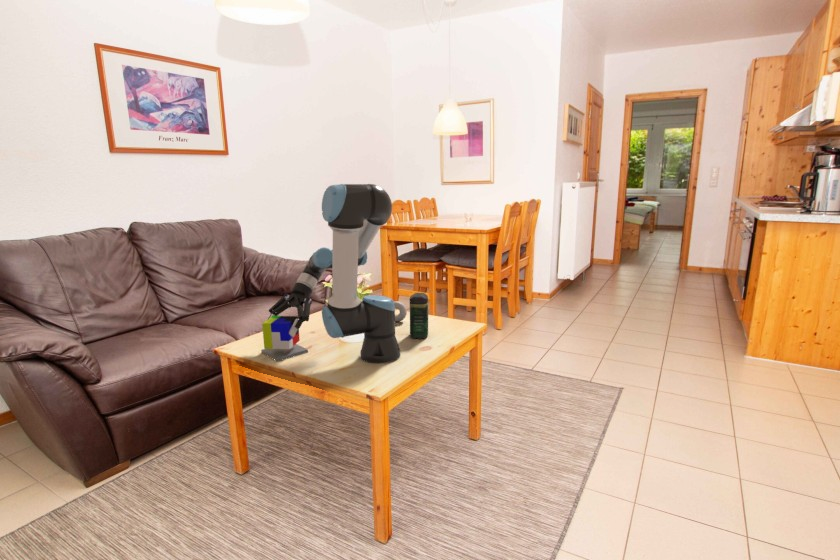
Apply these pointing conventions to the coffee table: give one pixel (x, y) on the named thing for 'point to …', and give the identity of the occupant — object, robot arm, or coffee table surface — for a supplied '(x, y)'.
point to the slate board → (285, 352)
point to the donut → (402, 311)
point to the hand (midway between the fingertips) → (278, 332)
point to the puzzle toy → (279, 332)
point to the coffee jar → (419, 315)
